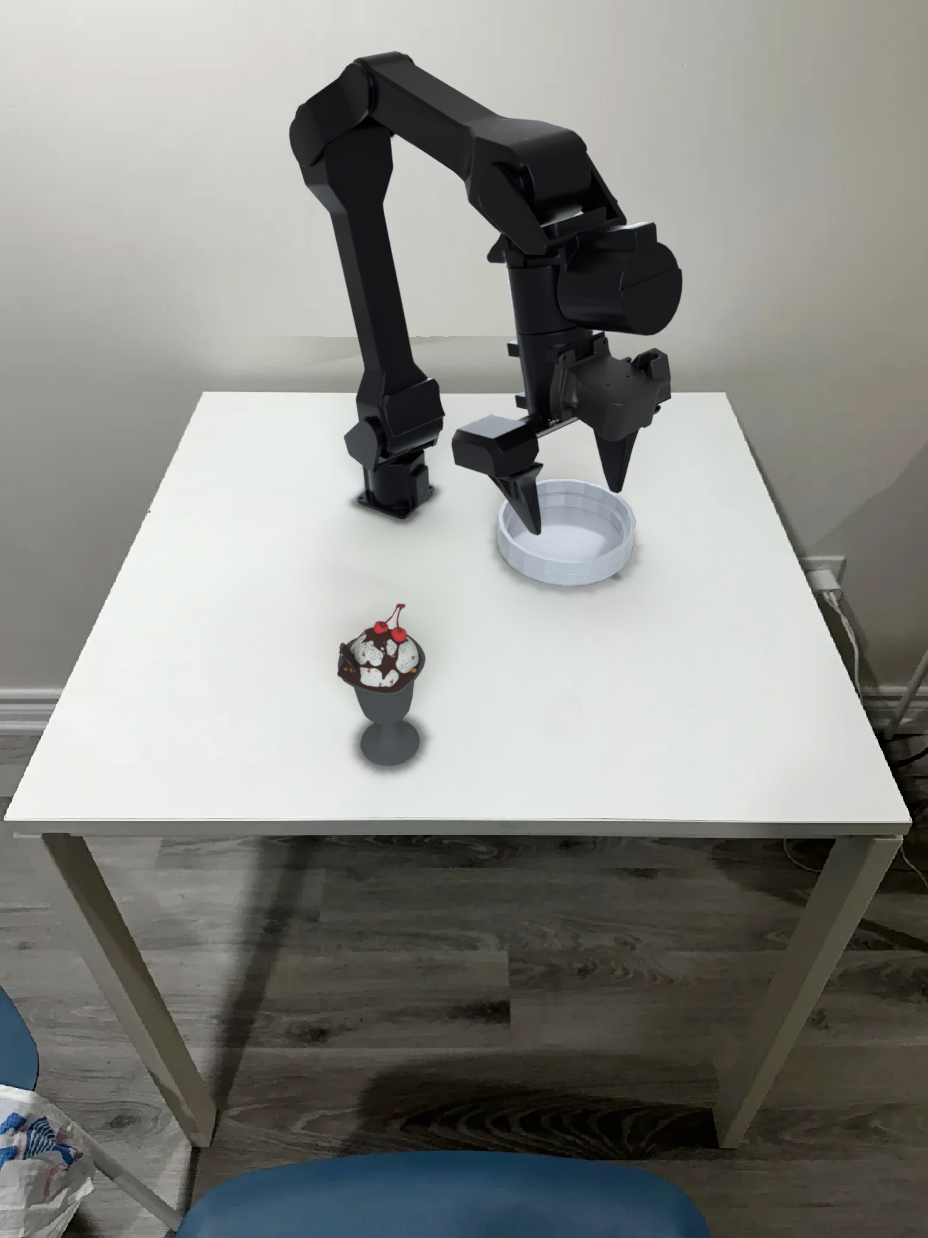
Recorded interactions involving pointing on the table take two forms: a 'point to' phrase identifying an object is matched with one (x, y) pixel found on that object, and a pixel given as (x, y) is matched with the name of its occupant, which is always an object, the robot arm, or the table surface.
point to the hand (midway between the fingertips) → (576, 512)
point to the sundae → (384, 688)
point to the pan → (569, 534)
